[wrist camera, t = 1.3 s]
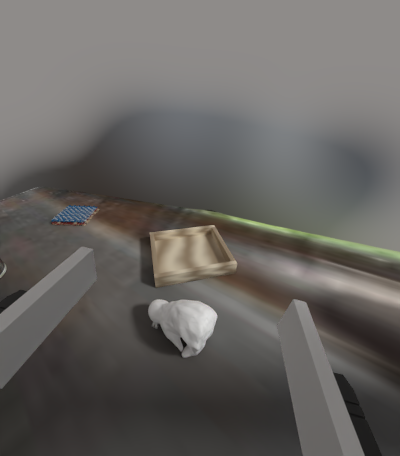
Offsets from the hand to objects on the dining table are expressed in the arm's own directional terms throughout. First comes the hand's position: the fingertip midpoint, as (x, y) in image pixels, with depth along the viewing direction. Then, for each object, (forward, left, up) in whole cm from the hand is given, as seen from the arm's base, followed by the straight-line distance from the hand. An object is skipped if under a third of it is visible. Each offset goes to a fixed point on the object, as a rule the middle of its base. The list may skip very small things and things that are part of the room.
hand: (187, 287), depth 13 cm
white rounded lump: (-1, -9, -23) cm, 25 cm away
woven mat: (+24, -53, -23) cm, 63 cm away
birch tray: (-7, -27, -23) cm, 36 cm away
